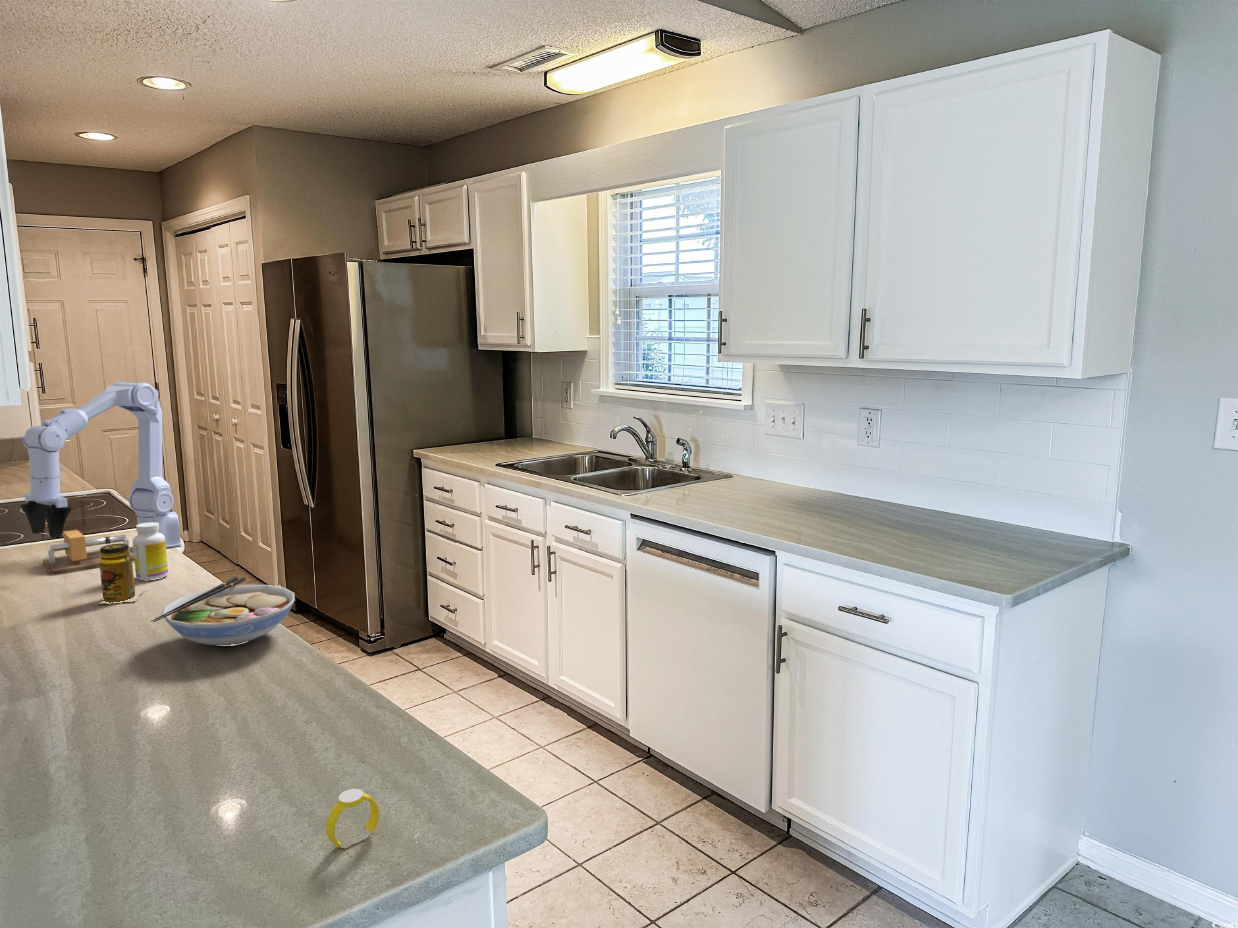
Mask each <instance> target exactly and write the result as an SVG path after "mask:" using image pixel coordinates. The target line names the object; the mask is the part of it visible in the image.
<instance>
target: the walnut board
mask: <svg viewBox="0 0 1238 928" xmlns="http://www.w3.org/2000/svg"><path fill="white" fill-rule="evenodd" d="M86 553H87V559H83V560H76V561H72V560H71V559H70V558H69V557H68V556H67V555H66V556H59V557H58V556H57V557H55V565H51V566H50V564H49V558H45V559H42V564H43V565H44V566H45V568H46V569H47V570H48V571H49V572H50V574H51V575H52V576H55V575H56V576H57V575H61V574H68V573H75V572H83V571H86V570H87V571H88V570H94V569H100V564H99V561H100V560H101V556H100V555H101V551H100V550H99V551H92V552H86ZM129 555H130V556H131V557H132V561H134V552H132V551H130V553H129Z"/></svg>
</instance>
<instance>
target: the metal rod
mask: <svg viewBox="0 0 1238 928" xmlns="http://www.w3.org/2000/svg"><path fill="white" fill-rule="evenodd" d="M119 542H120V543H121V542H122V543H123V544H127V545H128V546H129V547H130V540H129V539H128V538H127V536H126V534H120V535H113V536H105V537H99V538H93V539H91V538H90V539H85V544H86V548H87V547H92V546H93V547H94V546H100V545H110V544H116V543H119ZM67 549H69V545H68V543H64V542H63V543H58V544H57V543H56V544H50V546H49V549H48V550H47V554H48V559H49V564H50V566H51V565H55V558H56V556H55V552H59V551H60V552H61V551H65V550H67ZM128 550H129V553H130V552H131V551H130V548H129V549H128Z"/></svg>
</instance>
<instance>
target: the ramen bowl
mask: <svg viewBox="0 0 1238 928" xmlns="http://www.w3.org/2000/svg"><path fill="white" fill-rule="evenodd" d="M245 581H246V577H244V576H243V577H240V578H239V577H238V576H234V577H231V578H230V579H228V580H226V581H225V582H222V583H221V584H218V585H216V586H215V587H213V588H211V589H205V590H201V591H196V592H194V593H190V594H188V595H183V596H181V597H178V598H176V599H175V600H173V601H171V602H169V603H168V604H166V605H165V606H164V607H163V610H162V612H161V615H160V616H158V617H156V618H154V619H152V620H150V623H152V622H153V623H156V622H157V621H160V620H163V619H164V620H165V621H166V623H167V624H168V625H170V627H171V628H172V629H173V630H174V631H176V632H177V633H178V634H180V635H181V636H182V637H183V638H185V639H186V640H187V641H188V640H189V641H191V642H193V643H198V644H203V645H207V646H214V645H231V644H239V643H243V642H246V641H250V640H252V641H253V640H255V639H257V638H259V637H263V636H265V635H267V634H268V633H270V632H271V631H273V630H274V629H275V628H276V627H277V626H278V625H280V624H281V623H282V622H283V620H284V619H285V618H286V617H287V615H288V613H289V612H290V610H291V609H292V607H293V605H294V603H295V599H296V598H295V592H293V591H291V590H289V589H287V588H286V587H282V586H276V585H270V584H241V583H242V582H245ZM238 584H241V585H238ZM250 642H251V641H250Z"/></svg>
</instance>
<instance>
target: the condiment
mask: <svg viewBox="0 0 1238 928" xmlns="http://www.w3.org/2000/svg"><path fill="white" fill-rule="evenodd" d="M128 549H129V550H130V545H129V546H128V545H127V544H123V542H122V543H121V542H120V543H119V542H117V543H110V544H105V545H103V546H101V547H100V549H99V551H101V555H100V556H101V560H100V561H99V564H100V568H99V572H100V581H101V590H102V591H101V592H102V593H101V594H102V599H104V600H103V601H105V602H109V603H111V602H112V603H113V602H120V601H125V600H128V599H131V598H133V597H134V596H135V591H136V587H135V579H134V568H133V562H132V557H131V556H130V555H129V550H128Z"/></svg>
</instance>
